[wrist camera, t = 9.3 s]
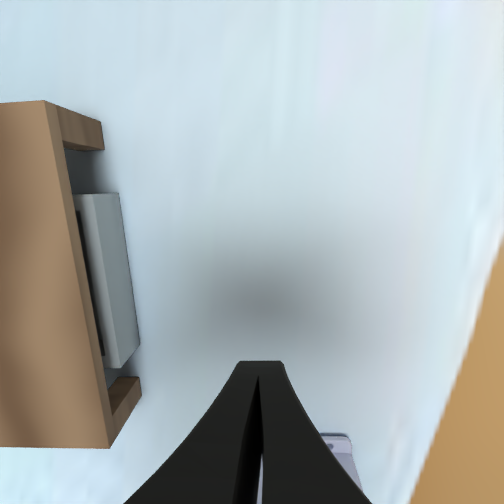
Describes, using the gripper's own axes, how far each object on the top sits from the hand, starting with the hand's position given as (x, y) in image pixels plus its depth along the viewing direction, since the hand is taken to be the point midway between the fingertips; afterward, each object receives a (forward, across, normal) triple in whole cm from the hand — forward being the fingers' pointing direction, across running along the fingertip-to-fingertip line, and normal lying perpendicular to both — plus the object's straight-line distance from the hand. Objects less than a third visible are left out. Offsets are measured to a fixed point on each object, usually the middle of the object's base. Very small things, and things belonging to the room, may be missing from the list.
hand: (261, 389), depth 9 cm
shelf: (+9, +13, -1) cm, 16 cm away
